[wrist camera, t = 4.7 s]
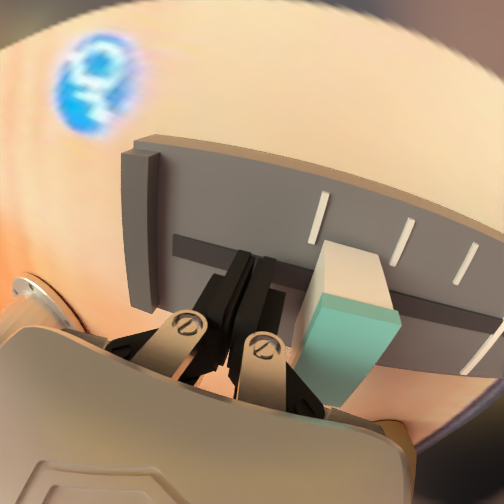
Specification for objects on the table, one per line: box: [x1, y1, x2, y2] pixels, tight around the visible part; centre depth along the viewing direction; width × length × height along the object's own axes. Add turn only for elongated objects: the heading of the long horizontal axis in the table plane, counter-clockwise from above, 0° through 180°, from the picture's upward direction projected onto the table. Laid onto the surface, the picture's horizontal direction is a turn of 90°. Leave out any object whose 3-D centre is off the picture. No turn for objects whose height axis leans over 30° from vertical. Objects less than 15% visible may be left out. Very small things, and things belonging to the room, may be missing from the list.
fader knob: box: [289, 240, 402, 407], centre depth 11 cm, size 5×3×4 cm, turn 170°
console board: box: [121, 134, 504, 378], centre depth 13 cm, size 10×30×3 cm, turn 80°
